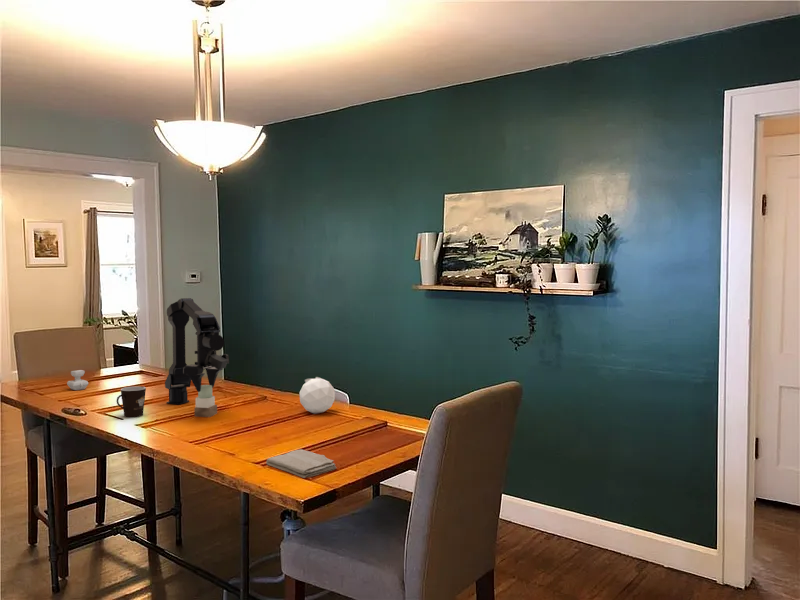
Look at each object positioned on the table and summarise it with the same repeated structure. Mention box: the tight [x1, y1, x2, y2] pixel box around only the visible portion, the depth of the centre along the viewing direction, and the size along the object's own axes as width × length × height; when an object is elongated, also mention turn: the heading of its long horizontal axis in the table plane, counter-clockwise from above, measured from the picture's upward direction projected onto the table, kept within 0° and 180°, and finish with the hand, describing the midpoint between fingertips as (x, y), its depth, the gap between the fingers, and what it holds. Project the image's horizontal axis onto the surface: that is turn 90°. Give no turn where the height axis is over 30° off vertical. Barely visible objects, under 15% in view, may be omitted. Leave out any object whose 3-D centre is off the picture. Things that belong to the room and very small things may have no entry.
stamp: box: [66, 369, 89, 391], centre depth 282 cm, size 9×7×8 cm
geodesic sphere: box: [299, 376, 336, 414], centre depth 241 cm, size 14×14×14 cm
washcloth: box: [266, 448, 337, 479], centre depth 176 cm, size 12×18×3 cm, turn 49°
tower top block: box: [195, 395, 216, 408], centre depth 236 cm, size 5×5×4 cm
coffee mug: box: [116, 386, 147, 418], centre depth 233 cm, size 12×9×10 cm
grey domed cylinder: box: [197, 384, 213, 398], centre depth 235 cm, size 5×5×4 cm
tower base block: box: [194, 404, 218, 418], centre depth 236 cm, size 6×6×4 cm
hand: (205, 389), depth 235 cm, fingers open, 8 cm apart
